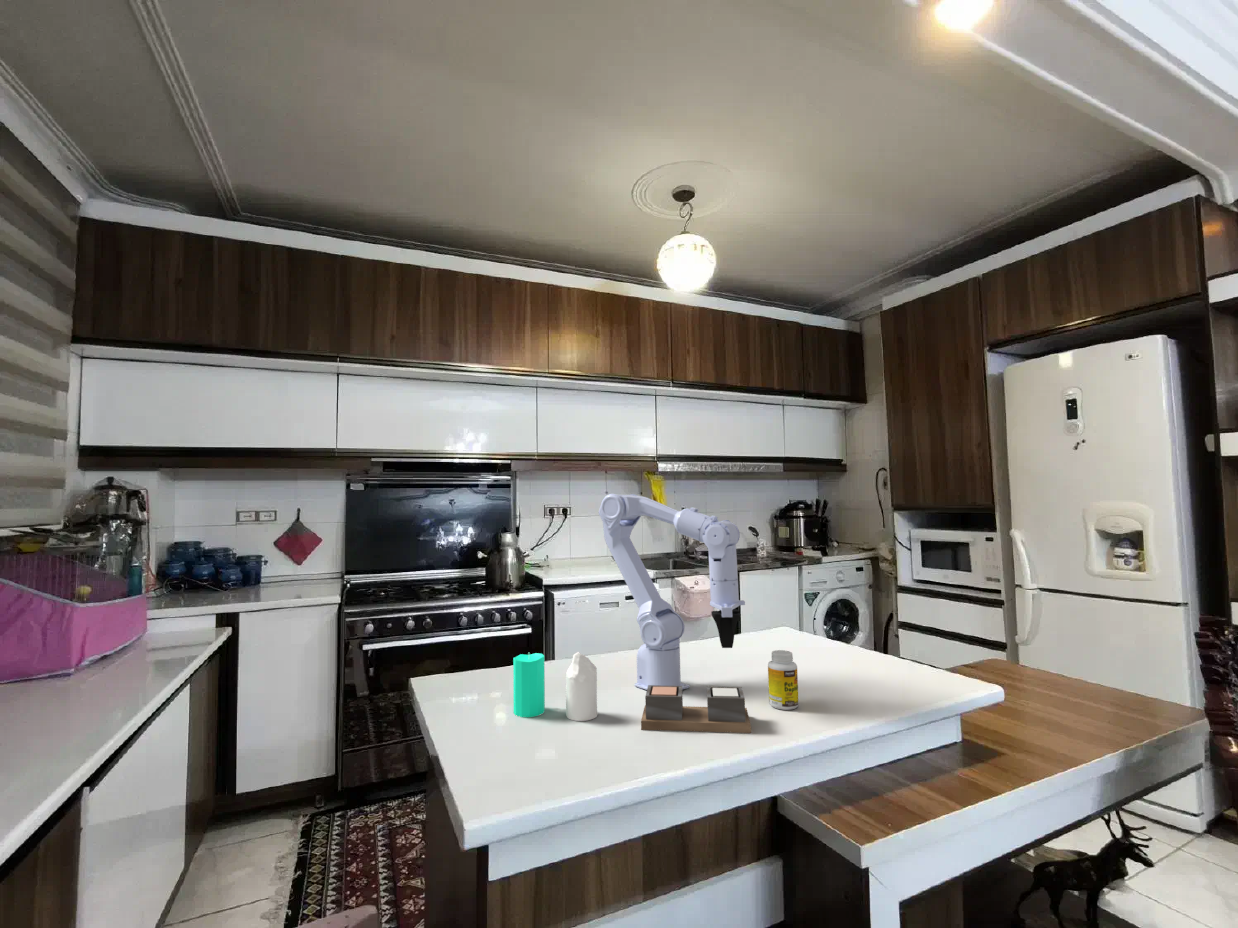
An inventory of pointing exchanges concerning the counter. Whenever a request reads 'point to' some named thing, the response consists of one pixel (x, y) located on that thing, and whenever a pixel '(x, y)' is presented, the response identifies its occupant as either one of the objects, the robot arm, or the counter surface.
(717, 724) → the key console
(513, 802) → the counter surface
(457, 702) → the counter surface
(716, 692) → the white key
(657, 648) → the robot arm
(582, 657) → the white bottle
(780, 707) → the supplement bottle
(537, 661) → the candle
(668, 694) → the clay key
